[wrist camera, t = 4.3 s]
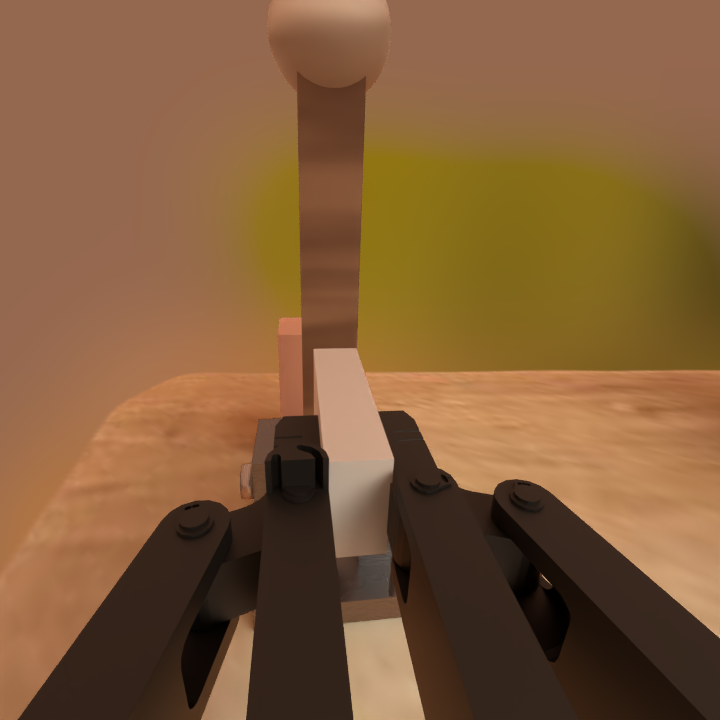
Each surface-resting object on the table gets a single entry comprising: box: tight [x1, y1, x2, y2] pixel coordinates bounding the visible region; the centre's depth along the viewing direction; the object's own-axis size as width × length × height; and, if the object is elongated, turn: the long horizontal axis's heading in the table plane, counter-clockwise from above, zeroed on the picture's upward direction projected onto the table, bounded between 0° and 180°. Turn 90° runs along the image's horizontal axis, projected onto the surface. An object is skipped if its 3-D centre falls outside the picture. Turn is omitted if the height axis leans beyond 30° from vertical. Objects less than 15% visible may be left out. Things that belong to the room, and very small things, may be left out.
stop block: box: [278, 318, 358, 419], centre depth 34 cm, size 4×6×9 cm
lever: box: [268, 0, 391, 416], centre depth 19 cm, size 4×4×23 cm
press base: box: [240, 418, 401, 627], centre depth 28 cm, size 18×9×8 cm, turn 8°
